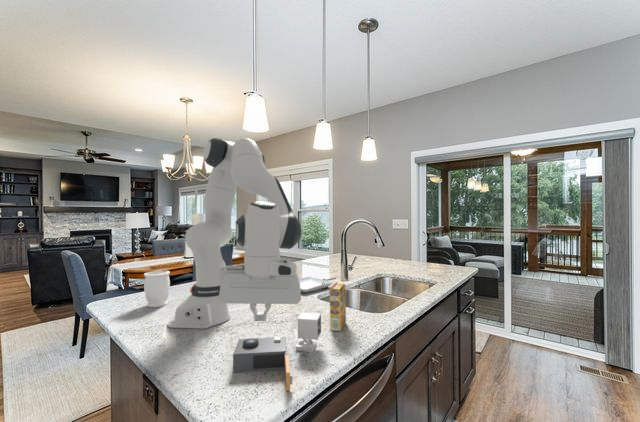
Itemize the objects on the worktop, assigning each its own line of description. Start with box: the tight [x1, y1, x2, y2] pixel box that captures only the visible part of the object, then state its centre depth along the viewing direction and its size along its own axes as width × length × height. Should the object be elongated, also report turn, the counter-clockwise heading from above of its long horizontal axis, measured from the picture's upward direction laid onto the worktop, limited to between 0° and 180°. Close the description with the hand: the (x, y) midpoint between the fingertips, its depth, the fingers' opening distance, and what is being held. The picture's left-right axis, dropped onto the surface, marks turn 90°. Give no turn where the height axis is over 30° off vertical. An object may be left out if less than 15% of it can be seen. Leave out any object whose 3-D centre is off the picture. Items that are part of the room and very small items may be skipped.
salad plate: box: [299, 276, 334, 294], centre depth 162 cm, size 21×21×3 cm
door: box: [284, 351, 293, 392], centre depth 74 cm, size 10×2×5 cm, turn 9°
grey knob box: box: [232, 336, 287, 374], centre depth 82 cm, size 14×9×6 cm, turn 96°
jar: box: [143, 270, 171, 308], centre depth 134 cm, size 11×10×15 cm
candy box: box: [329, 282, 347, 332], centre depth 107 cm, size 9×4×15 cm, turn 162°
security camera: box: [295, 312, 322, 353], centre depth 91 cm, size 6×7×10 cm
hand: (260, 320), depth 73 cm, fingers closed
